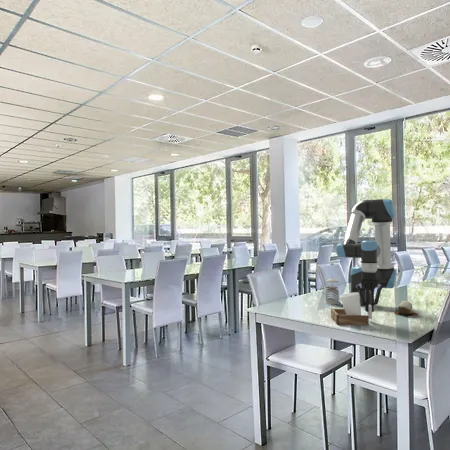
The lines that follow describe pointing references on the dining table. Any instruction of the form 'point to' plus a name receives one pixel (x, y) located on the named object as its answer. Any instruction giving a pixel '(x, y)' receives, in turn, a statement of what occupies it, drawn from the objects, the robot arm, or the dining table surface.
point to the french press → (332, 290)
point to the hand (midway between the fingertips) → (369, 318)
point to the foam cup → (351, 303)
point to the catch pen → (348, 318)
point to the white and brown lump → (405, 309)
